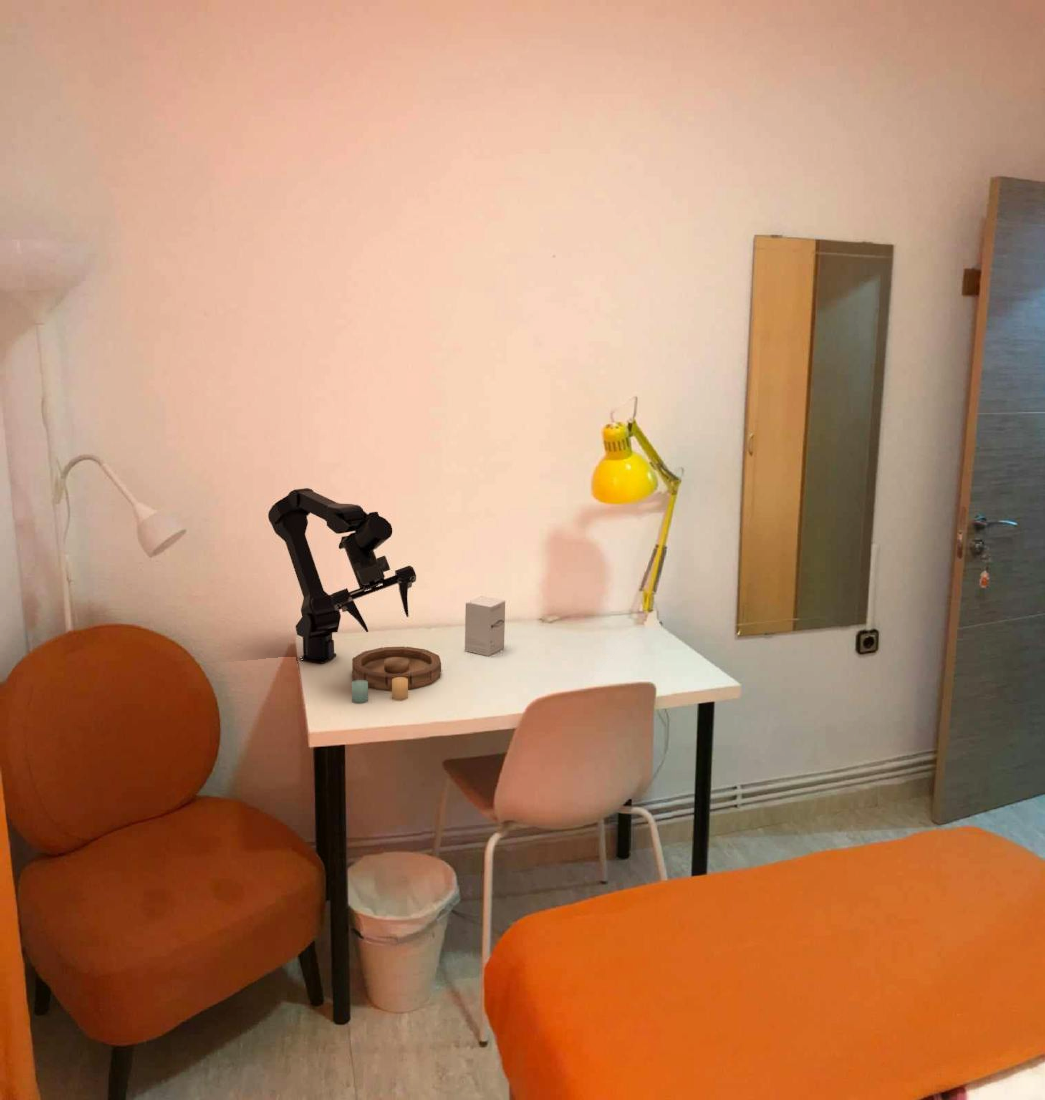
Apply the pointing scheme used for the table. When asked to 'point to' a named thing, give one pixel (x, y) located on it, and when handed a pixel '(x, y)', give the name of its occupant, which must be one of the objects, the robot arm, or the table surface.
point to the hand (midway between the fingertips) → (387, 624)
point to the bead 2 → (399, 688)
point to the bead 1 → (359, 691)
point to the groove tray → (396, 667)
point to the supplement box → (484, 625)
